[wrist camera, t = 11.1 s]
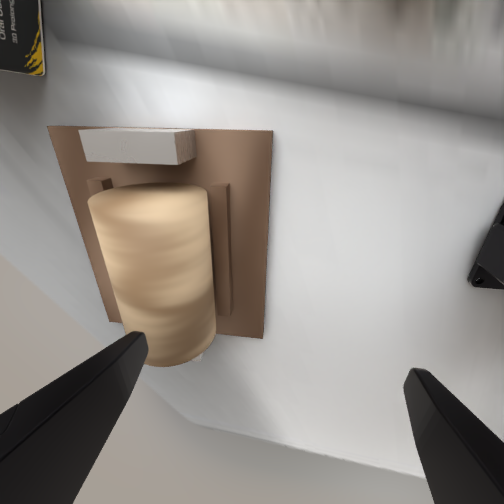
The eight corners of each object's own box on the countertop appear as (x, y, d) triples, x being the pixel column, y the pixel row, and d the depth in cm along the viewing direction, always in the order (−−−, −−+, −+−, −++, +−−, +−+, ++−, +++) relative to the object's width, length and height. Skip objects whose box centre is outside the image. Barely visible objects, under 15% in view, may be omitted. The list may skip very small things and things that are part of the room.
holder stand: (272, 130, 15) (267, 134, 12) (263, 331, 23) (258, 369, 19) (57, 125, 17) (-1, 128, 13) (114, 315, 24) (86, 347, 21)
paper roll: (208, 181, 17) (205, 211, 12) (215, 301, 22) (216, 361, 16) (111, 183, 16) (63, 215, 11) (141, 307, 21) (117, 371, 16)
